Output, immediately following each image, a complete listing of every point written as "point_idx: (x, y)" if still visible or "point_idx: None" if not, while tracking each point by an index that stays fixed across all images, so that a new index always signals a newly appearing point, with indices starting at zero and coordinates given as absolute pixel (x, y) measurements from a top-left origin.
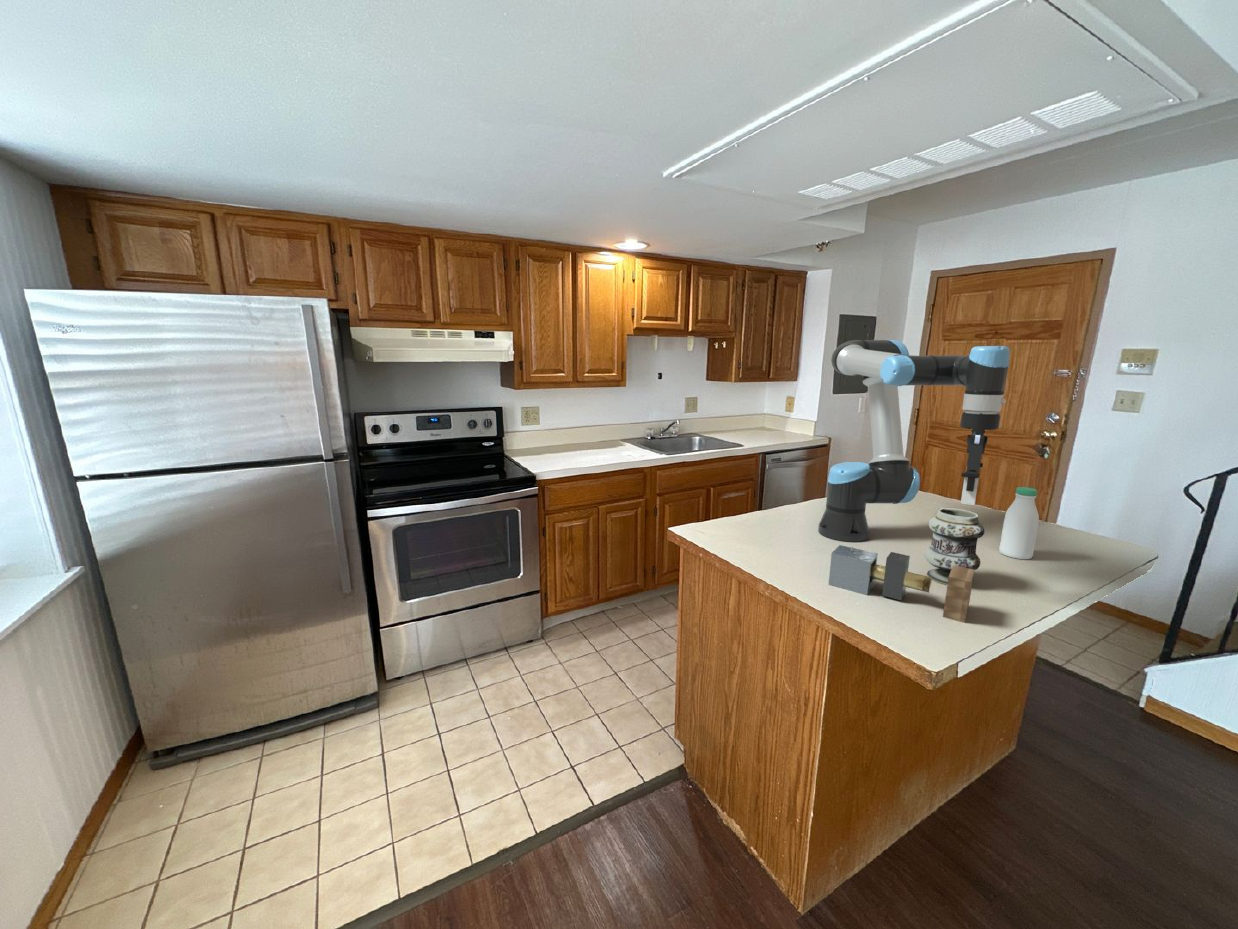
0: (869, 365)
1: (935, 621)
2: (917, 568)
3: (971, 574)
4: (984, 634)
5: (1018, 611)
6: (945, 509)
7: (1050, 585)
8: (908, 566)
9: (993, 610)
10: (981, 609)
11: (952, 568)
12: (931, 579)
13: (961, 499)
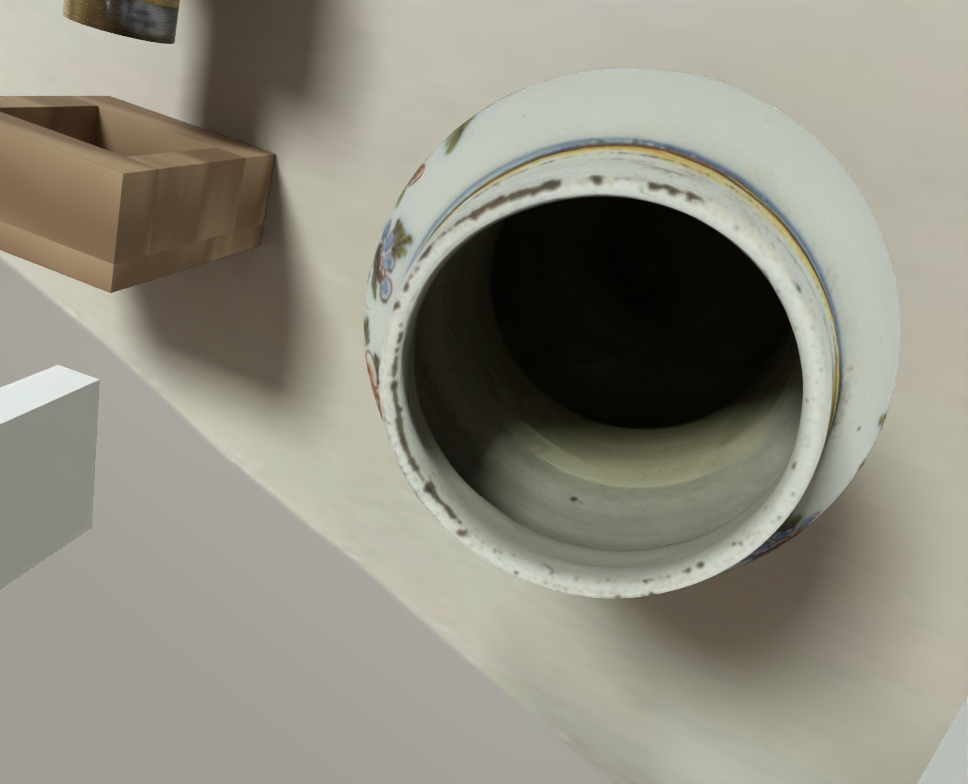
0: None
1: (46, 50)
2: (795, 60)
3: (20, 250)
4: None
5: (335, 466)
6: (779, 298)
7: (741, 754)
8: None
9: (295, 359)
10: (280, 307)
11: (57, 153)
12: (140, 38)
13: (5, 386)
